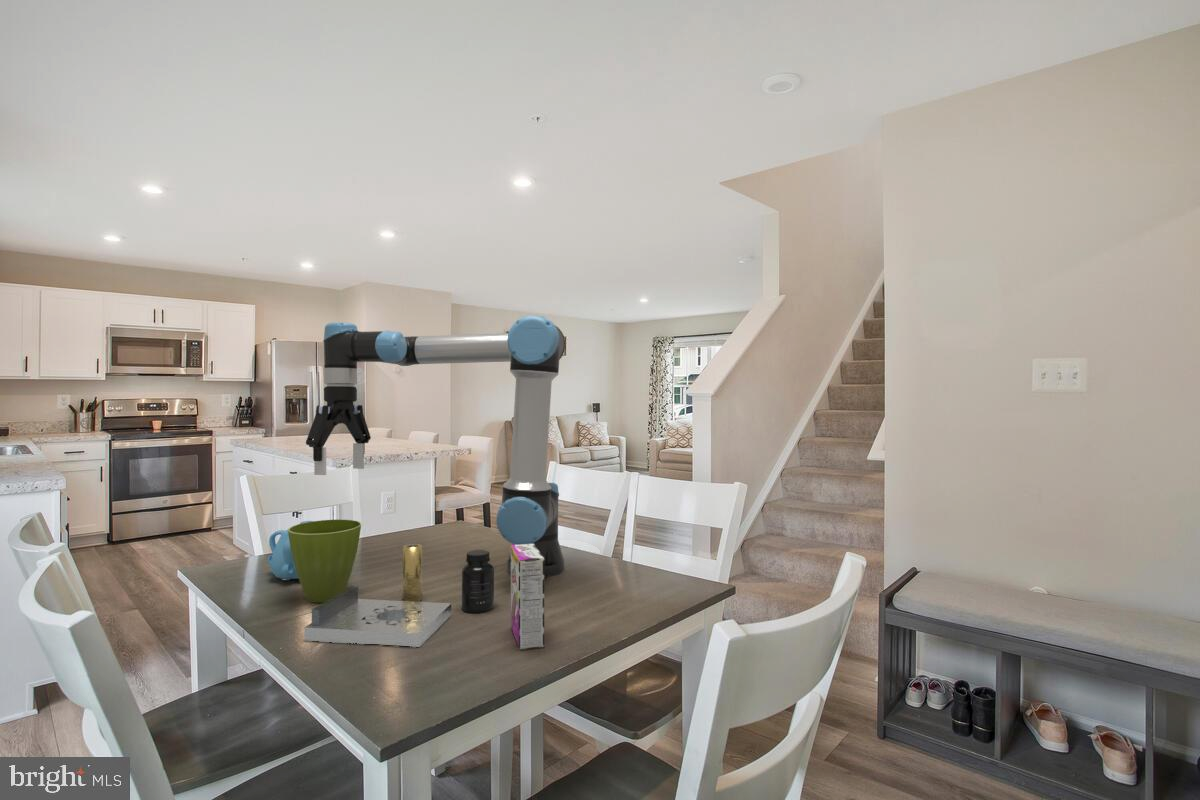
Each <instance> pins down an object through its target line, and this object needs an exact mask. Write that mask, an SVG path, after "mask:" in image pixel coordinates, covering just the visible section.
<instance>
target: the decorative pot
mask: <svg viewBox="0 0 1200 800" xmlns="http://www.w3.org/2000/svg"><path fill="white" fill-rule="evenodd" d="M312 521H313V520H303V521H300V522H299V524H301V523H306V522H312ZM278 535H280V536H279V539H278V541H277V542H276V537H277V536H278ZM268 543H269V546H270V550H271V552H272V553H271V554H270V555H268V557H267V563H268V564H269V565H270V567H269V568H270V570H271V572H272V574H273V575H274V576H275V577H276V578H277V579H278V578H279V579H291V580H294V579H295V580H297V579H298V580H299V578H298V575H297V572H296V568H295V565H294V561H293V557H292V553H291V548H290V542H289V535H288V529H285V530H284V529H281V530H277V531H275V532H273V533H272V534H271V535H270V537H269V541H268Z"/></svg>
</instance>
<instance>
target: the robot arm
mask: <svg viewBox="0 0 1200 800" xmlns="http://www.w3.org/2000/svg"><path fill="white" fill-rule="evenodd" d="M566 344H567V343H566V338H565V335H564V333H563V332H562V330H561V329H560V327H558V326H557V325H555V324H554V322H553V321H552V320H551V319H549V318H547V317H545V316H540V315H538V314H536V315H535V314H532V315H525V316H522V317H521V318H519V319H517V320H516V321H515V322H514V323H513V324H512V326H511V327H510V329H509V331H508V332H501V333H500V332H499V333H498V332H497V333H473V334H472V333H470V334H446V335H444V334H443V335H419V336H411V335H410V336H404V334H403V333H402V332H401V331H400V332H399V331H392V330H384V331H383V330H382V331H381V330H380V331H379V330H378V331H359V330H358V326H357V325H356V324H355V323H351V322H328V323H327V324H326V325H325V326H324V333H323V358H324V359H323V361H324V363H323V373H324V374H323V375H324V376H323V377H324V378H323V383H324V385H326V386H324V387H323V401H324V402H326V405H321V404H320V405H317V406H316V410H315V416H314V418H313V422H312V424H311V427H310V429H309V433H308V434H307V438H306V441H305V444H306V446H308V447H309V448H312V452H313V453H312V455H313V456H312V457H313V458H312V459H313V463H314V469H313V470H314V471H313V473H314V476H315V475H316V476H327V447H324V445H326V442H327V441H328V439H329V437H330V436H331V433H332V432H333V430H334V428H335V427H336V426H338V425H339V424H343V425H345V426H346V428H347V429H348V432H349V433H350V435H351V436H352V439H353V440H354V441H355V442H353V443H352V469H355V470H356V469H357V470H359V469H360V470H363V469H364V468H365V455H366V454H365V451H366V449H365V444H368V443H369V441H370V440H371V439H372V438H371V433H370V431H369V427H368V425H367V421H366V419H365V416H364V409H363V405H362V404H361V405H360V404H359V405H358V404H354V403H355V402H357V400H358V389H357V387H356V386H355V385H357V384H358V363H362V362H363V363H365V362H367V363H368V362H369V363H371V362H372V363H385V364H391V365H397V366H402V367H410V366H414V365H436V364H437V365H438V364H441V365H442V364H469V363H470V364H471V363H472V364H473V363H476V364H477V363H503V362H505V363H508V362H510V363H509V365H510V366H509V373H511V374H512V375H513V376H514V378H515V390H514V391H515V392H514V403H513V404H514V406H513V419H512V421H513V422H512V423H513V424H512V440H511V453H510V455H511V456H510V458H511V459H510V467H509V468H510V471H509V478H508V480H507V481H505V482H504V483H503V485H502V493H501V494H502V497H501V505H500V506H499V508H498V510H497V514H496V518H495V519H496V521H495V523H496V527H497V530H498V532H499V534H500V535H501V537H502V538H503V539H504V540H506V541H507V542H509V543H511V545H515V544H518V545H520V544H534V545H535V546H536V547H537V549H538V550H539V552H540V553H541V555H542V556H543V557H544V578H545V577H551V576H556V575H558V574H560V573H563V572H564V571H565V558H564V555H563V551H562V549H561V545H560V542H559V497H560V493H559V485H558V484H557V483H555V482H548V481H547V477H546V476H547V462H548V447H549V446H548V445H549V432H550V431H549V430H550V429H549V428H550V417H551V415H550V414H551V413H550V412H551V398H552V397H551V396H552V383H553V380H554V379H555V378H556V377H557V376H559V369H560V360H561V359H562V358H563V356H564V354H565V350H566V346H567V345H566ZM506 571H507V572H508V573H509V574H510V575H511V549H510V551H509V554H508V557H507V560H506Z"/></svg>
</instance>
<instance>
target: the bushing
mask: <svg viewBox="0 0 1200 800" xmlns="http://www.w3.org/2000/svg"><path fill="white" fill-rule="evenodd" d="M422 565H423V545H422V544H420V543H409V544H404V545H402V601H412V602H418V601H419V602H421V601H422V593H423V592H422V589H423V588H422V587H423V586H422V584H423V583H422V581H423V580H422V578H423V575H422V573H423V572H422V571H423V570H422V569H423V568H422V567H423V566H422ZM420 600H421V601H420Z"/></svg>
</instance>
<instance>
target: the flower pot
mask: <svg viewBox="0 0 1200 800" xmlns="http://www.w3.org/2000/svg"><path fill="white" fill-rule="evenodd" d="M311 521H312V522H306V523H301V524H300V523H298V524H295V525H293V526H291V527H289V528H287V530H288V535H289V542H290V548H291V553H292V557H293V561H294V565H295V568H296V572H297V575H298V578H299V579H298V580H299V583H300V586H301V589H302V591H303V593H304V596H305V598H306V600H307V601H309V602H310V601H311V602H312V603H324V602H325V601H327V600H329V599H330V598H332V597H334V596H336V595H337V594H339V593H341V592H342V591H344V590H346V589H347V585H348V584H349V581H350V577H351V575H352V572H353V568H354V564H355V560H356V557H357V552H358V547H359V542H360V537H361V536H360V535H361V528H362V522H360V521H357V520H352V519H322V520H314V521H313V520H311ZM311 602H310V603H311Z"/></svg>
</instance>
